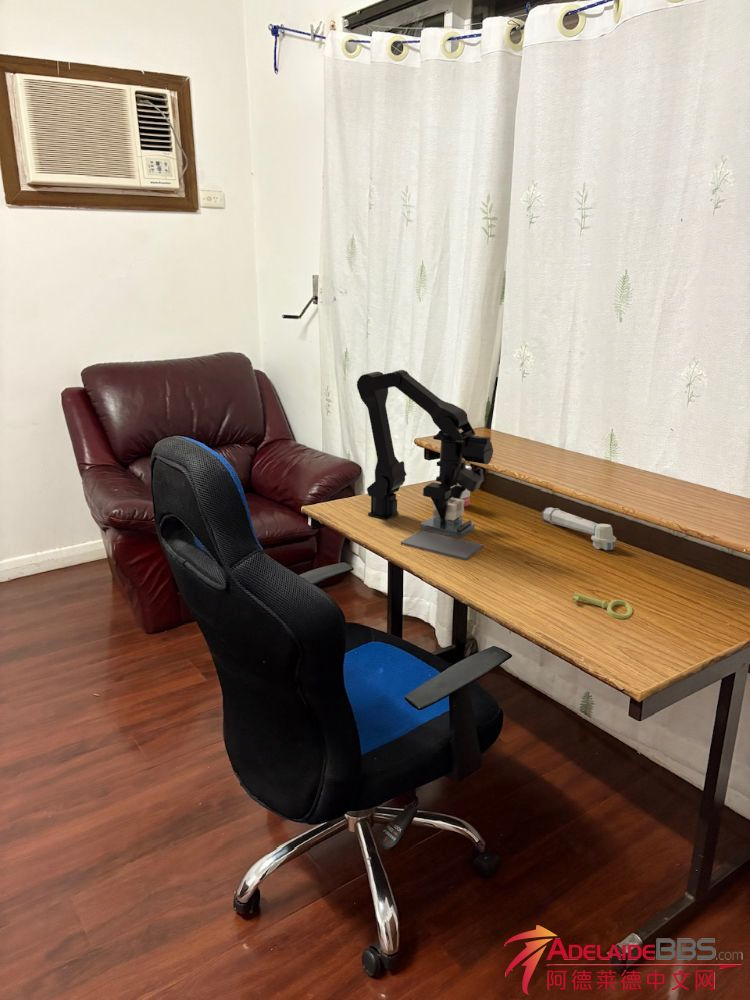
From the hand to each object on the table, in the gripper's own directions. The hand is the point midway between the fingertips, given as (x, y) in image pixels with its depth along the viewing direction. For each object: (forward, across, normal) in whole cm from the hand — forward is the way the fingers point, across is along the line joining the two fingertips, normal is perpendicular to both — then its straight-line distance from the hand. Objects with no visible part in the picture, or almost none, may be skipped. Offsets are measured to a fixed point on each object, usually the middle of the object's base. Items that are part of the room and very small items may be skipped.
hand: (448, 515), depth 192 cm
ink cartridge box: (+4, +20, +8) cm, 22 cm away
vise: (+4, 0, 0) cm, 4 cm away
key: (+5, -22, -47) cm, 52 cm away
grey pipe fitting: (+4, +16, -30) cm, 34 cm away
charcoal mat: (+4, -11, -4) cm, 12 cm away
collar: (0, 0, 0) cm, 0 cm away
